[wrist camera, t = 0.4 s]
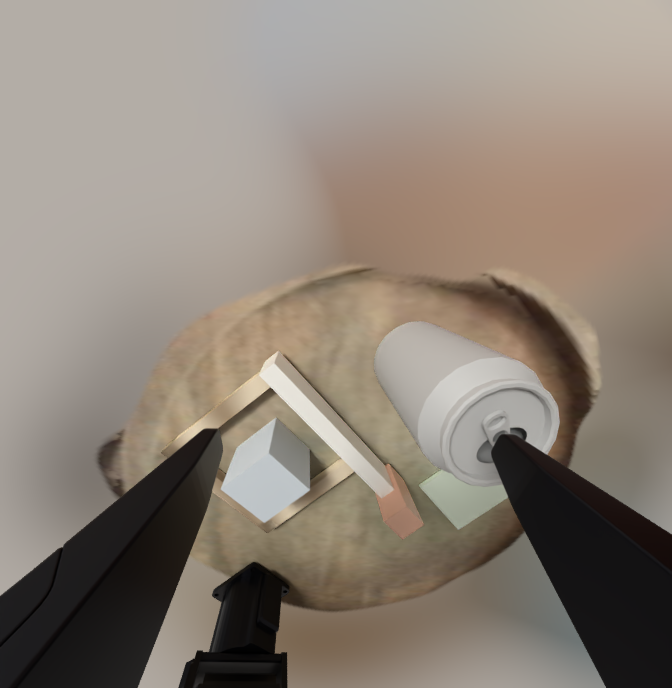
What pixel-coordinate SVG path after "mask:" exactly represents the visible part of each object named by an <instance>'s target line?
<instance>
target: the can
mask: <svg viewBox="0 0 672 688" xmlns="http://www.w3.org/2000/svg"><path fill="white" fill-rule="evenodd" d="M374 372H375V374H376V377H377V380H378V382H379V384H380V385H381V387H382V389H383V390H384V392H385V393H386V395H387V397H388V398H389V400H390V401H391V403H392V405H393V406H394V408H395V409H396V411H397V413H398V414H399V416H400V417H401V419H402V420H403V422H404V424H405V425H406V427H407V428H408V430H409V432H410V433H411V435H412V436H413V438H414V440H415V441H416V443H417V444H418V446H419V448H420V449H421V451H422V452H423V454H424V455H425V456H426V457H427V458H428V459H429V461H430V462H431V463H432V464H433V465H434V466H436V467H438V468H440V469H442V470H444V471H446V472H448V473H452V474H453V475H454V477H455V478H457V479H459V480H461V481H463V482H465V483H467V484H469V485H474V486H482V487H489V486H496V485H503V484H502V481H501V479H500V476H499V474H498V472H497V469H496V467H495V464H494V462H493V460H492V457H491V450H492V448H493V446H494V444H495V442H496V440H497V438H498V437H499V435H501V434H515V435H517V436H518V437H520V438H522V439H523V440H525V441H526V442H528V443H529V444H531V445H532V446H534V447H536V448H537V449H539V450H540V451H542V452H543V453H545V454H548V452H549V450H550V449H551V447H552V445H553V443H554V441H555V440H556V436H557V432H558V428H559V423H560V421H559V412H558V406H557V404H556V402H555V400H554V399H553V397H552V395H551V393H550V392H548V391H547V390H545V389H544V388H543V386H542V384H541V382H540V380H539V379H538V377H537V375H536V374H535V372H534V371H532V370H531V369H530V368H528V367H527V366H526V365H524V364H523V363H521V362H520V361H517V360H515V359H513V358H511V357H508V356H506V355H504V354H501V353H499V352H497V351H494V350H492V349H490V348H488V347H485V346H483V345H481V344H478V343H476V342H474V341H471V340H469V339H467V338H465V337H462V336H460V335H458V334H455V333H453V332H451V331H448V330H446V329H444V328H442V327H439V326H437V325H435V324H431V323H427V322H423V321H417V322H408V323H406V324H403V325H401V326H398V327H396V328H395V329H394V330H392V331H391V332H390V333H389V334H387V335H386V336H385V338H384V339H383V340H382V342H381V343H380V345H379V346H378V349H377V352H376V355H375V358H374Z"/></svg>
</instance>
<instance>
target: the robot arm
mask: <svg viewBox="0 0 672 688" xmlns="http://www.w3.org/2000/svg"><path fill="white" fill-rule="evenodd" d="M222 453H223V445H222V440H221V435H220V431H219V429H217V428H205V429H203V430H201V431H200V432H199V433H198V434H196V435H195V436H194V437H193V438H192V439H190V440H189V441H188V442H187V443H186V444H184V445H183V446H182V447H181V448H180V449H178V450H177V451H176V452H175V453H174V454H172V455H171V456H170V457H169V458H167V459H166V460H165V461H164V462H163V463H161V464H160V465H159V466H158V467H157V468H155V469H154V470H153V471H152V472H151V473H149V474H148V475H147V476H146V477H145V478H143V479H142V480H141V481H140V482H138V483H137V484H136V485H135V486H134V487H132V488H131V489H130V490H129V491H128V492H126V493H125V494H124V495H123V496H122V497H120V498H119V499H118V500H117V501H116V502H114V503H113V504H112V505H111V506H109V507H108V508H107V509H106V510H105V511H103V512H102V513H101V514H100V515H99V516H97V517H96V518H95V519H94V520H93V521H91V522H90V523H89V524H88V525H87V526H85V527H84V528H83V529H82V530H81V531H79V532H78V533H77V534H76V535H75V536H73V537H72V538H71V539H70V540H68V541H67V542H66V543H65V544H64V546H63V548H62V547H61V548H59V549H57V550H56V551H55V552H54V553H53V554H51V555H50V556H49V557H48V558H47V559H45V560H44V561H43V562H42V563H40V564H39V565H38V566H37V567H36V568H34V569H33V570H32V571H31V572H30V573H28V574H27V575H26V576H24V577H23V578H22V579H21V580H19V581H18V582H17V583H16V584H15V585H13V586H12V587H11V588H10V589H8V590H7V591H6V592H5V593H3V594H2V595H1V596H0V688H138V685H139V683H140V680H141V677H142V675H143V673H144V670H145V667H146V665H147V662H148V660H149V657H150V655H151V652H152V649H153V647H154V644H155V642H156V639H157V637H158V634H159V631H160V629H161V626H162V624H163V621H164V618H165V616H166V613H167V611H168V608H169V606H170V603H171V600H172V598H173V595H174V593H175V590H176V587H177V585H178V582H179V580H180V577H181V574H182V572H183V570H184V567H185V564H186V562H187V559H188V557H189V554H190V552H191V549H192V546H193V544H194V541H195V539H196V536H197V534H198V531H199V528H200V526H201V523H202V521H203V518H204V515H205V513H206V510H207V507H208V504H209V500H210V497H211V493H212V490H213V486H214V482H215V479H216V475H217V472H218V468H219V464H220V461H221V457H222ZM491 457H492V460H493V462H494V464H495V467H496V469H497V472H498V474H499V476H500V479H501V481H502V484H503V486H504V488H505V491H506V493H507V496H508V498H509V500H510V503H511V505H512V507H513V509H514V511H515V513H516V515H517V517H518V519H519V521H520V523H521V525H522V527H523V529H524V530H525V532H526V534H527V536H528V538H529V540H530V542H531V544H532V546H533V548H534V550H535V552H536V554H537V555H538V557H539V559H540V561H541V563H542V565H543V567H544V569H545V571H546V573H547V575H548V576H549V578H550V581H551V582H552V584H553V586H554V588H555V590H556V592H557V594H558V596H559V598H560V600H561V602H562V604H563V605H564V607H565V609H566V611H567V613H568V615H569V617H570V619H571V621H572V623H573V625H574V627H575V629H576V631H577V633H578V634H579V636H580V638H581V640H582V642H583V644H584V646H585V648H586V650H587V652H588V653H589V656H590V657H591V659H592V661H593V663H594V665H595V667H596V669H597V671H598V673H599V675H600V677H601V679H602V680H603V682H604V685H605V686H606V688H672V534H670V533H669V532H667V531H666V530H664V529H662V528H661V527H659V526H658V525H656V524H655V523H653V522H651V521H650V520H648V519H647V518H645V517H644V516H642V515H640V514H639V513H637V512H636V511H634V510H633V509H631V508H630V507H628V506H626V505H625V504H623V503H622V502H620V501H619V500H617V499H615V498H614V497H612V496H610V495H609V494H608V493H606V492H604V491H603V490H601V489H599V488H598V487H596V486H595V485H593V484H592V483H590V482H589V481H587V480H586V479H584V478H582V477H581V476H579V475H578V474H576V473H575V472H573V471H572V470H570V469H568V468H567V467H565V466H564V465H562V464H561V463H559V462H558V461H556V460H554V459H553V458H551V457H550V456H548V455H547V454H545V453H543V452H542V451H540V450H539V449H537V448H536V447H534V446H532V445H531V444H529V443H528V442H526V441H525V440H523V439H522V438H520V437H518V436H517V435H515V434H501V435H499V437H498V438H497V440H496V442H495V444H494V446H493V448H492V450H491ZM288 593H289V586H288V585H287V584H285V583H284V582H283V581H281V580H280V579H278V578H277V577H275V576H274V575H272V574H271V573H270V572H268V571H267V570H265V569H264V568H262V567H261V566H259V565H258V564H256V563H251V564H249V565H248V566H246V567H245V568H244V569H242V570H241V571H239V572H238V573H236V574H235V575H234V576H232V577H231V578H229V579H228V580H227V581H225V582H224V583H222V584H221V585H220V586H218V587H217V588H215V589H214V591H213V594H212V596H213V597H214V598H216V599H217V600H219V601H221V602H222V603H221V607H220V611H219V615H218V619H217V623H216V627H215V630H214V635H213V638H212V642H211V646H210V650H209V652H203V651H197V653H196V656H195V659H193V660H191V661H189V662H187V663H186V665H185V668H184V672H183V675H182V678H181V681H180V684H179V688H287V652H286V653H285V652H282V653H281V654H275V643H276V632H277V631H278V629H279V619H280V607H281V598H282V597H284V596H285V595H287V594H288Z"/></svg>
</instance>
